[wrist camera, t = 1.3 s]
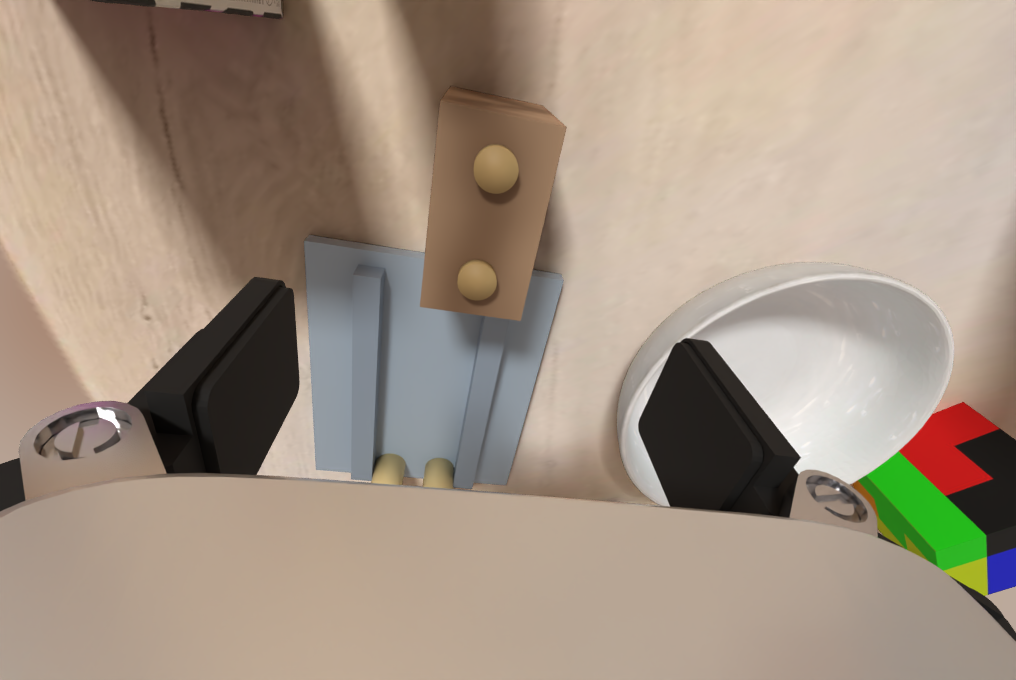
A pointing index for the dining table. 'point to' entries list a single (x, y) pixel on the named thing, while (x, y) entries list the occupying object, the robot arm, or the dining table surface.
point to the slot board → (415, 370)
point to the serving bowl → (809, 363)
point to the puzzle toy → (952, 498)
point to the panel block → (487, 202)
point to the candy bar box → (216, 6)
